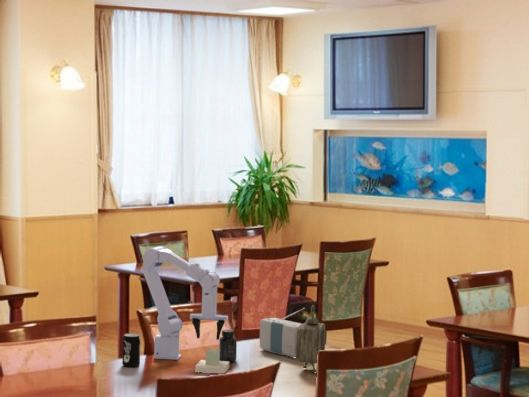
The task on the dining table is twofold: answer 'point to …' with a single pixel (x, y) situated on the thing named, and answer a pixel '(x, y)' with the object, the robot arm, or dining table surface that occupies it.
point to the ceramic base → (212, 367)
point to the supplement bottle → (228, 346)
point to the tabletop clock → (310, 340)
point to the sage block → (212, 357)
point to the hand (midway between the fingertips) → (208, 338)
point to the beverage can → (131, 350)
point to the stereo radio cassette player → (279, 335)
